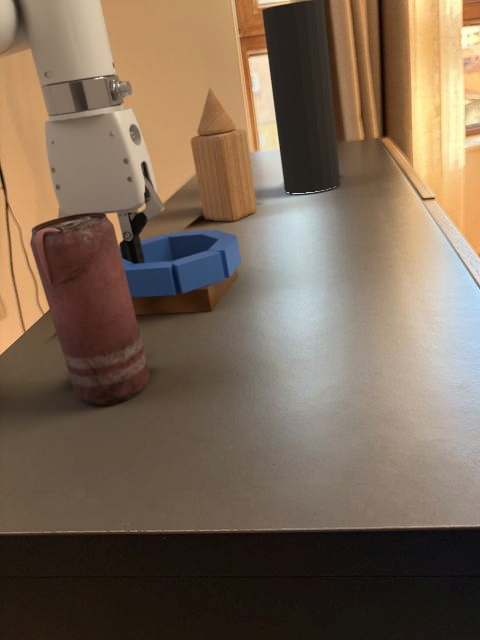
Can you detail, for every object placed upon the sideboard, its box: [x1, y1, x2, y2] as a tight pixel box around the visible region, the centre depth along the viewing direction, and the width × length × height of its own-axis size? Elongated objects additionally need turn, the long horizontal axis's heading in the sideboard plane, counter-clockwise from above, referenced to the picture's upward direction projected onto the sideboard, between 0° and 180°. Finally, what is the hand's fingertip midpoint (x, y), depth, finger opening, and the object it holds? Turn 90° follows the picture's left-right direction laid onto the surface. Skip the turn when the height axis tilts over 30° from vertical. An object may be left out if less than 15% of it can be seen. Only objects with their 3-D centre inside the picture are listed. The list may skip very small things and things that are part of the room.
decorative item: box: [190, 86, 258, 222], centre depth 101 cm, size 7×7×20 cm
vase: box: [261, 0, 341, 193], centre depth 111 cm, size 10×10×30 cm
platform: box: [131, 268, 239, 316], centre depth 71 cm, size 11×11×2 cm
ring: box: [119, 229, 242, 298], centre depth 70 cm, size 14×14×3 cm
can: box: [29, 213, 151, 407], centre depth 49 cm, size 6×6×14 cm
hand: (124, 272), depth 72 cm, fingers closed on ring, 2 cm apart
